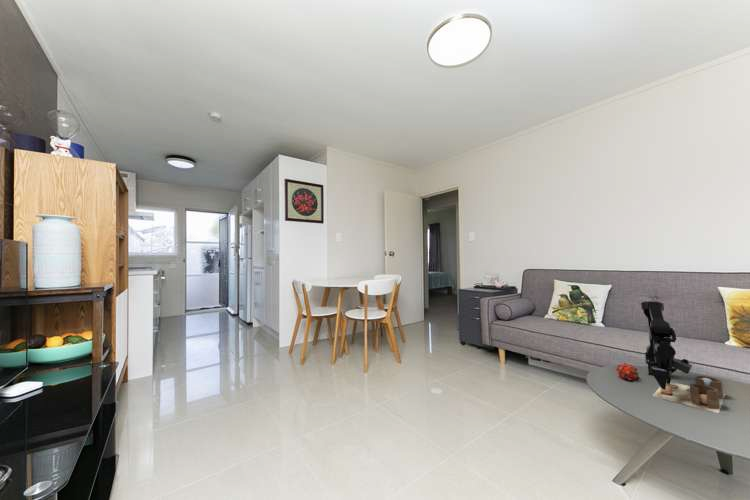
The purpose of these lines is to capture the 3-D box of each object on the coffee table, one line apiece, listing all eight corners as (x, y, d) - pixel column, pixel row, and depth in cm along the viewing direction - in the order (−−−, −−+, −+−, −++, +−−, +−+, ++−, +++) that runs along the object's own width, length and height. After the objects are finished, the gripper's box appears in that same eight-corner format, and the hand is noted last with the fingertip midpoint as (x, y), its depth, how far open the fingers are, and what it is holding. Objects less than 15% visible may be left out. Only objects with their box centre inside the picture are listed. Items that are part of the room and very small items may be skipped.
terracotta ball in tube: (697, 404, 117) (696, 394, 117) (698, 401, 119) (697, 391, 120) (712, 407, 114) (711, 397, 114) (713, 404, 116) (712, 394, 116)
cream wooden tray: (652, 396, 125) (650, 379, 126) (665, 381, 140) (663, 366, 141) (718, 414, 110) (716, 394, 110) (725, 395, 125) (723, 378, 125)
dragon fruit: (630, 378, 149) (630, 389, 140) (612, 366, 153) (611, 376, 145) (642, 368, 145) (642, 379, 136) (623, 356, 150) (623, 366, 141)
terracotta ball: (659, 393, 127) (658, 384, 127) (661, 391, 129) (660, 382, 130) (672, 396, 124) (671, 387, 124) (674, 394, 126) (673, 385, 126)
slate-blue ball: (705, 379, 127) (695, 379, 128) (712, 376, 124) (702, 376, 125) (711, 389, 125) (700, 388, 125) (718, 386, 122) (708, 385, 122)
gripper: (684, 360, 116) (688, 399, 115) (692, 351, 127) (696, 386, 126) (648, 354, 125) (651, 389, 124) (658, 346, 136) (661, 379, 135)
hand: (666, 386), depth 127 cm, fingers open, 9 cm apart
